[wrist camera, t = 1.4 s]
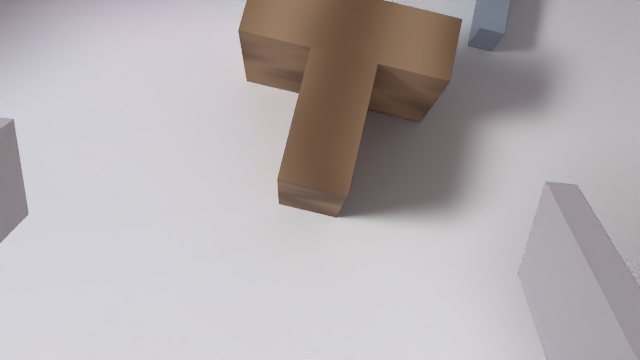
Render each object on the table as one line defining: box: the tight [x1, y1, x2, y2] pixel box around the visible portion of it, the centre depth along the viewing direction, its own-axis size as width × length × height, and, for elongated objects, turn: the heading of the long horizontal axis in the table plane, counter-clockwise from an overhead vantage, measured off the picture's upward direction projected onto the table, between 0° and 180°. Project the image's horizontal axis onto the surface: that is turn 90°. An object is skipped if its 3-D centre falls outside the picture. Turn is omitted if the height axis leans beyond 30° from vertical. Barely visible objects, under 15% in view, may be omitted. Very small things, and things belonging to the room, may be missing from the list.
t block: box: [238, 0, 462, 217], centre depth 34 cm, size 11×10×7 cm
